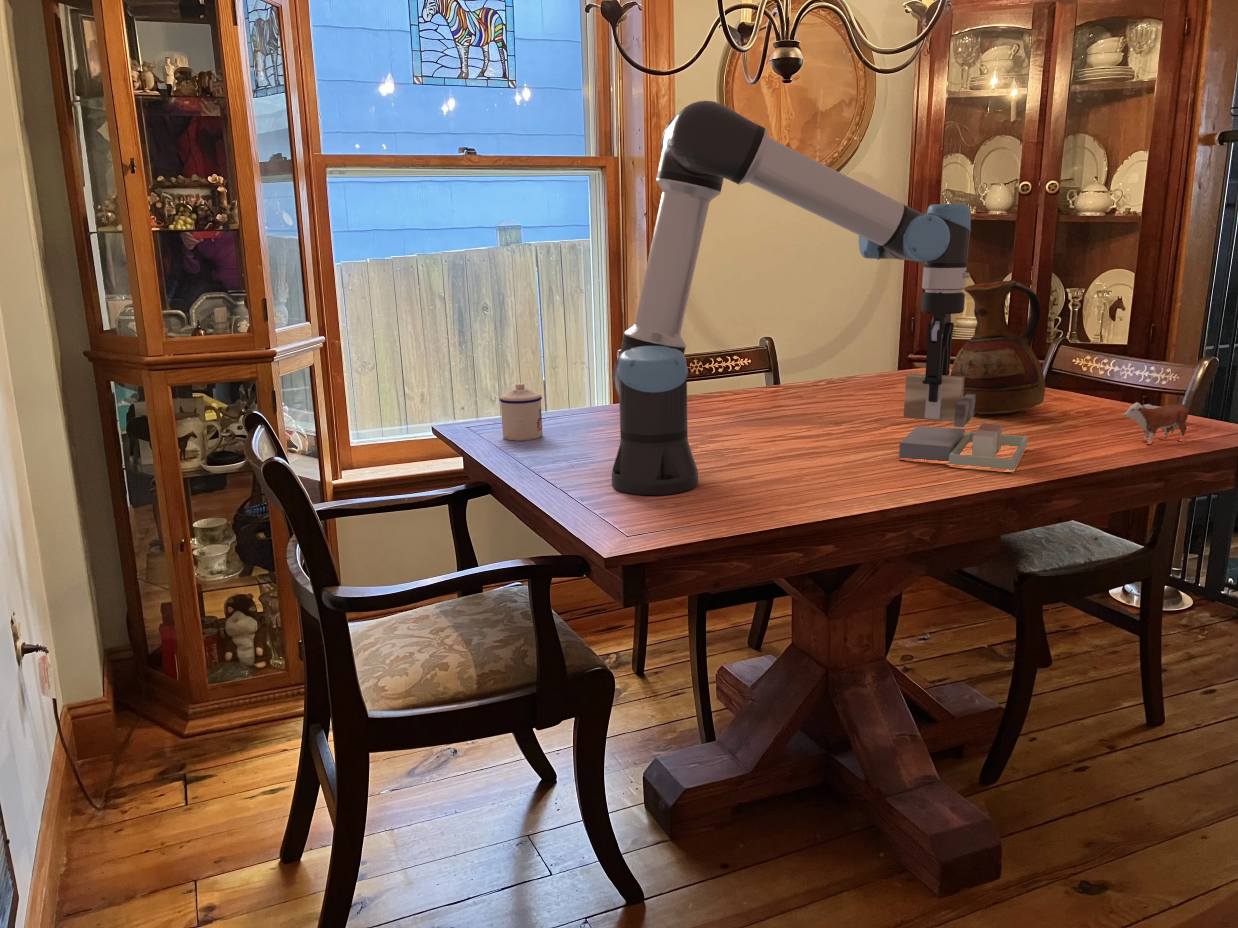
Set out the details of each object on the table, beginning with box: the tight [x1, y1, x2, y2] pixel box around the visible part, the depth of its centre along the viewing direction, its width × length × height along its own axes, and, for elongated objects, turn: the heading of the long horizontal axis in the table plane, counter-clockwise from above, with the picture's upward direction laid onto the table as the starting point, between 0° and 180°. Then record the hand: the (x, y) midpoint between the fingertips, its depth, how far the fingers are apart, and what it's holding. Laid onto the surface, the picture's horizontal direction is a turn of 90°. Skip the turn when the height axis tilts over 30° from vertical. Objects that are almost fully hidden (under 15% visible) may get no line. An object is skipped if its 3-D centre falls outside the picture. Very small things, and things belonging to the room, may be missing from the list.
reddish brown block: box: [978, 422, 1003, 454], centre depth 180 cm, size 5×5×4 cm
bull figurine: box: [1123, 401, 1189, 442], centre depth 185 cm, size 4×13×8 cm, turn 102°
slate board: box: [898, 425, 966, 461], centre depth 181 cm, size 16×9×4 cm, turn 152°
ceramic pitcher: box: [950, 279, 1046, 415], centre depth 214 cm, size 20×20×30 cm
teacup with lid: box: [499, 382, 543, 442], centre depth 207 cm, size 12×9×12 cm
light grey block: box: [972, 429, 998, 457], centre depth 174 cm, size 5×5×4 cm
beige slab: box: [903, 373, 976, 428], centre depth 179 cm, size 13×12×8 cm
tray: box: [949, 431, 1028, 470], centre depth 177 cm, size 20×11×2 cm, turn 152°
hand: (934, 416), depth 180 cm, fingers closed on beige slab, 3 cm apart
